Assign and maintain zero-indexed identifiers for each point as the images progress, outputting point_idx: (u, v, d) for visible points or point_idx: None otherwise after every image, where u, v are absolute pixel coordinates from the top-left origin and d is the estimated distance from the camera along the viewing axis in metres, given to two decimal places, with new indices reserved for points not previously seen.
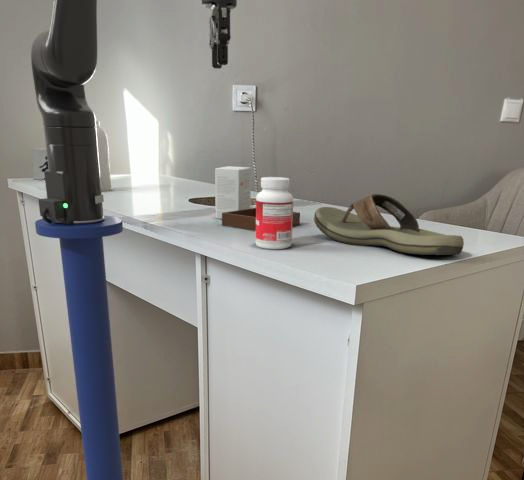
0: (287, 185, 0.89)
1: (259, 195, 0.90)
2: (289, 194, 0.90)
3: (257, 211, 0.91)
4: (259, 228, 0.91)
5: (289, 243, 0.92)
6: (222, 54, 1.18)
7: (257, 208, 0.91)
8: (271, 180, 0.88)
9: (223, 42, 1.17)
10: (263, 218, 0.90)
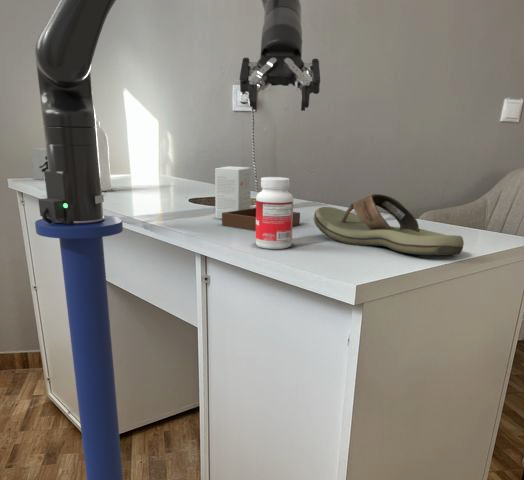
0: (287, 185, 0.89)
1: (259, 195, 0.90)
2: (289, 194, 0.90)
3: (257, 211, 0.91)
4: (259, 228, 0.91)
5: (289, 243, 0.92)
6: None
7: (257, 208, 0.91)
8: (271, 180, 0.88)
9: (311, 89, 0.98)
10: (263, 218, 0.90)
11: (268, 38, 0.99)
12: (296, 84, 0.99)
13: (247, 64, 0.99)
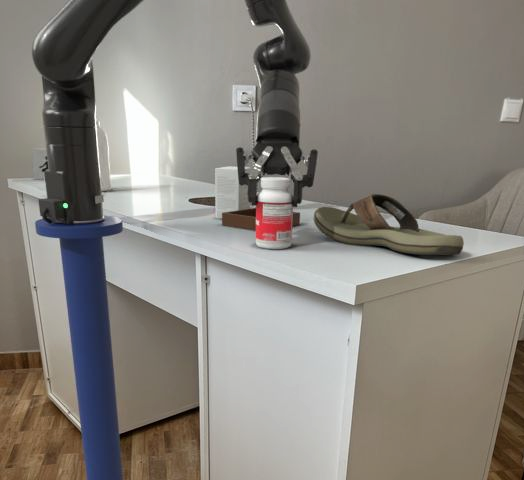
0: (287, 185, 0.89)
1: (259, 195, 0.90)
2: (289, 194, 0.90)
3: (257, 211, 0.91)
4: (259, 228, 0.91)
5: (289, 243, 0.92)
6: (301, 194, 0.90)
7: (257, 208, 0.91)
8: (271, 180, 0.88)
9: (304, 184, 0.91)
10: (263, 218, 0.90)
11: (264, 124, 0.92)
12: (290, 175, 0.92)
13: (242, 155, 0.92)
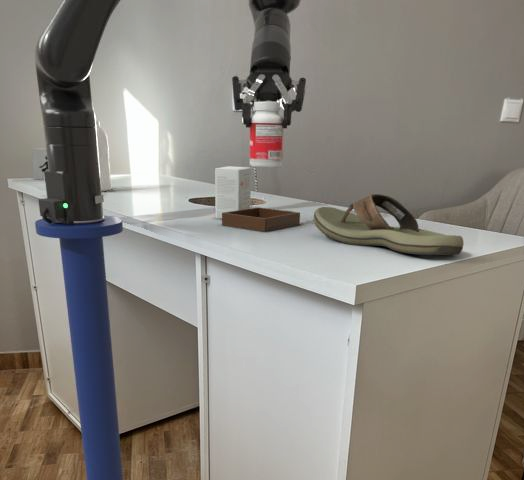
0: (278, 107, 0.99)
1: (252, 117, 1.00)
2: (279, 116, 0.99)
3: (251, 132, 1.01)
4: (253, 148, 1.01)
5: (280, 162, 1.02)
6: None
7: (251, 129, 1.00)
8: (263, 102, 0.98)
9: (293, 108, 1.01)
10: (256, 138, 1.00)
11: (257, 55, 1.02)
12: (280, 101, 1.02)
13: (237, 82, 1.02)
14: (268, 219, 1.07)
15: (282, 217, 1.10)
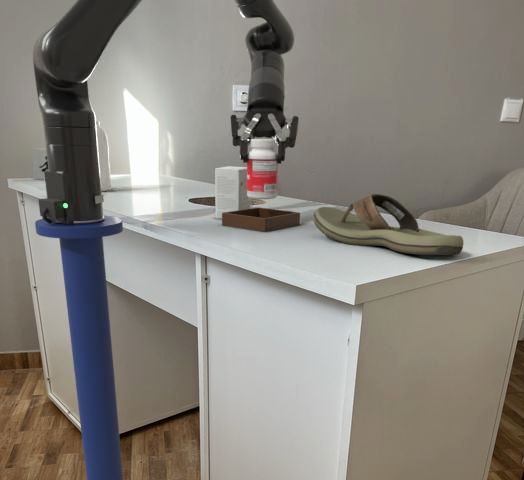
0: (272, 145, 1.07)
1: (249, 153, 1.08)
2: (274, 153, 1.08)
3: (248, 167, 1.09)
4: (250, 181, 1.09)
5: (275, 194, 1.11)
6: (284, 152, 1.09)
7: (248, 164, 1.09)
8: (259, 140, 1.06)
9: (287, 144, 1.10)
10: (253, 173, 1.08)
11: (254, 95, 1.11)
12: (275, 138, 1.11)
13: (235, 121, 1.11)
14: (268, 219, 1.07)
15: (282, 217, 1.10)
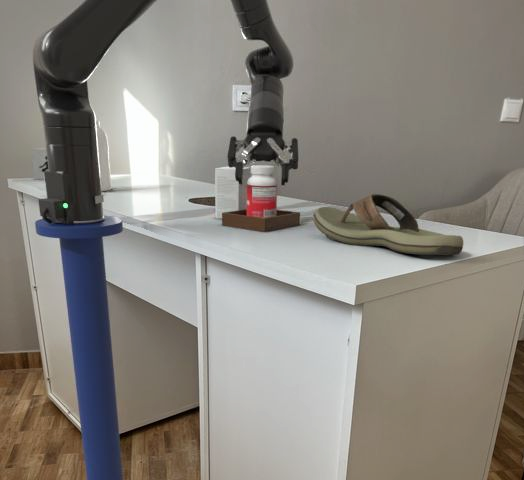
0: (272, 171, 1.09)
1: (249, 180, 1.10)
2: (274, 179, 1.10)
3: (248, 193, 1.11)
4: (249, 207, 1.11)
5: None
6: None
7: (247, 190, 1.11)
8: (259, 167, 1.08)
9: (290, 166, 1.11)
10: (252, 199, 1.10)
11: (253, 120, 1.12)
12: (277, 161, 1.12)
13: (234, 143, 1.12)
14: (268, 219, 1.07)
15: (282, 217, 1.10)
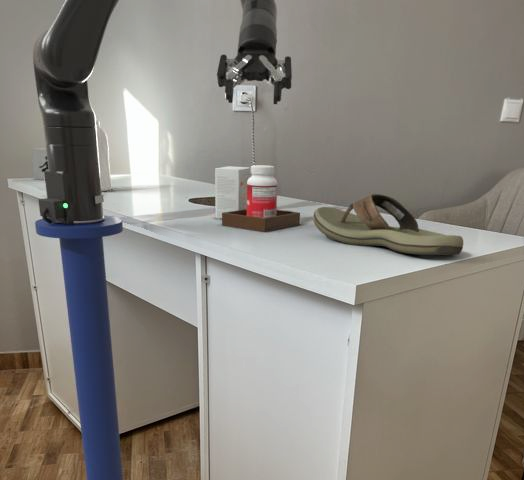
0: (272, 171, 1.09)
1: (249, 180, 1.10)
2: (274, 179, 1.10)
3: (248, 193, 1.11)
4: (249, 207, 1.11)
5: None
6: None
7: (248, 190, 1.11)
8: (259, 167, 1.08)
9: (283, 85, 1.06)
10: (253, 199, 1.10)
11: (245, 36, 1.07)
12: (270, 80, 1.07)
13: (224, 60, 1.07)
14: (268, 219, 1.07)
15: (282, 217, 1.10)
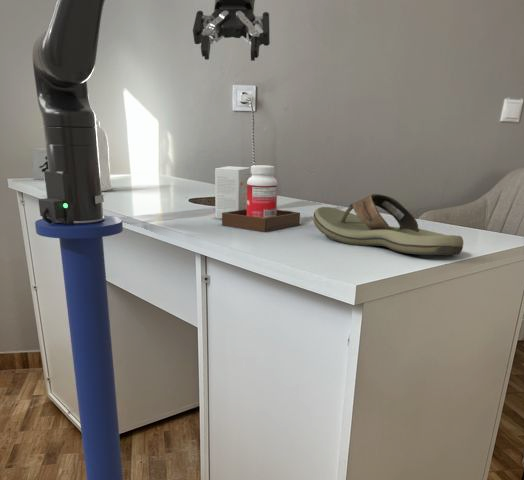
0: (272, 171, 1.09)
1: (249, 180, 1.10)
2: (274, 179, 1.10)
3: (248, 193, 1.11)
4: (249, 207, 1.11)
5: None
6: (258, 48, 1.02)
7: (248, 190, 1.11)
8: (259, 167, 1.08)
9: (261, 41, 1.03)
10: (253, 199, 1.10)
11: None
12: (247, 36, 1.04)
13: (201, 17, 1.04)
14: (268, 219, 1.07)
15: (282, 217, 1.10)
